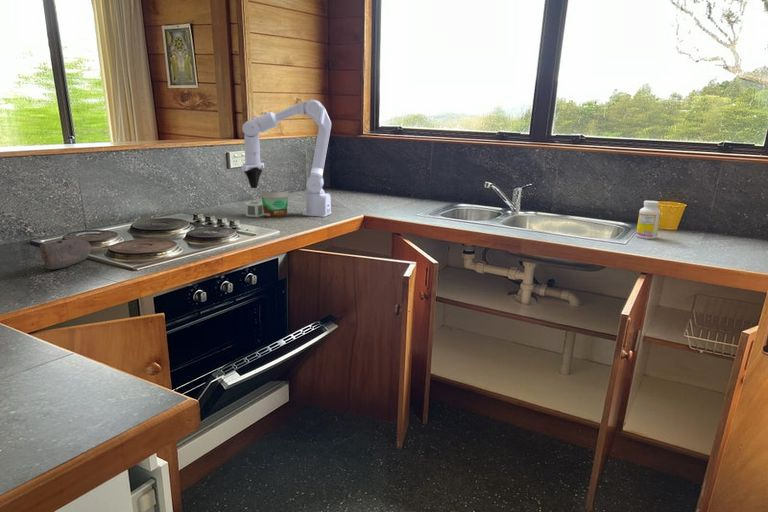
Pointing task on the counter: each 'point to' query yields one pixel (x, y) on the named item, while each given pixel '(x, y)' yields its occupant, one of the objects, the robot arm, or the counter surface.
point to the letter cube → (254, 209)
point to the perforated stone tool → (64, 253)
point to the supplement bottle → (648, 220)
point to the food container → (275, 204)
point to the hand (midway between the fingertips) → (254, 187)
